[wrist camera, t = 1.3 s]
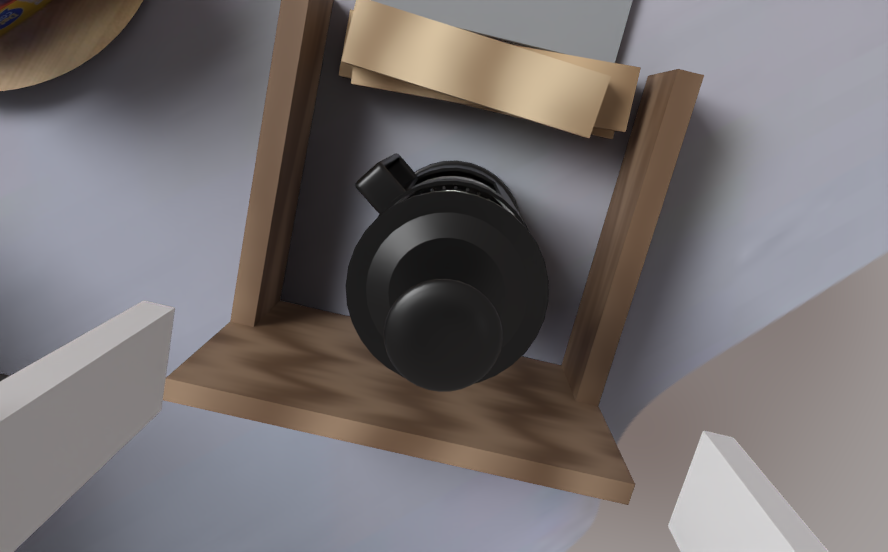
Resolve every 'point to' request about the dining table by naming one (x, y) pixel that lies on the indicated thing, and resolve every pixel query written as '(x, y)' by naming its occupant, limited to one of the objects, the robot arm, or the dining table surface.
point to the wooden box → (380, 389)
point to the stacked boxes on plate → (55, 36)
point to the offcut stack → (485, 72)
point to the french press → (444, 274)
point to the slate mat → (534, 22)
